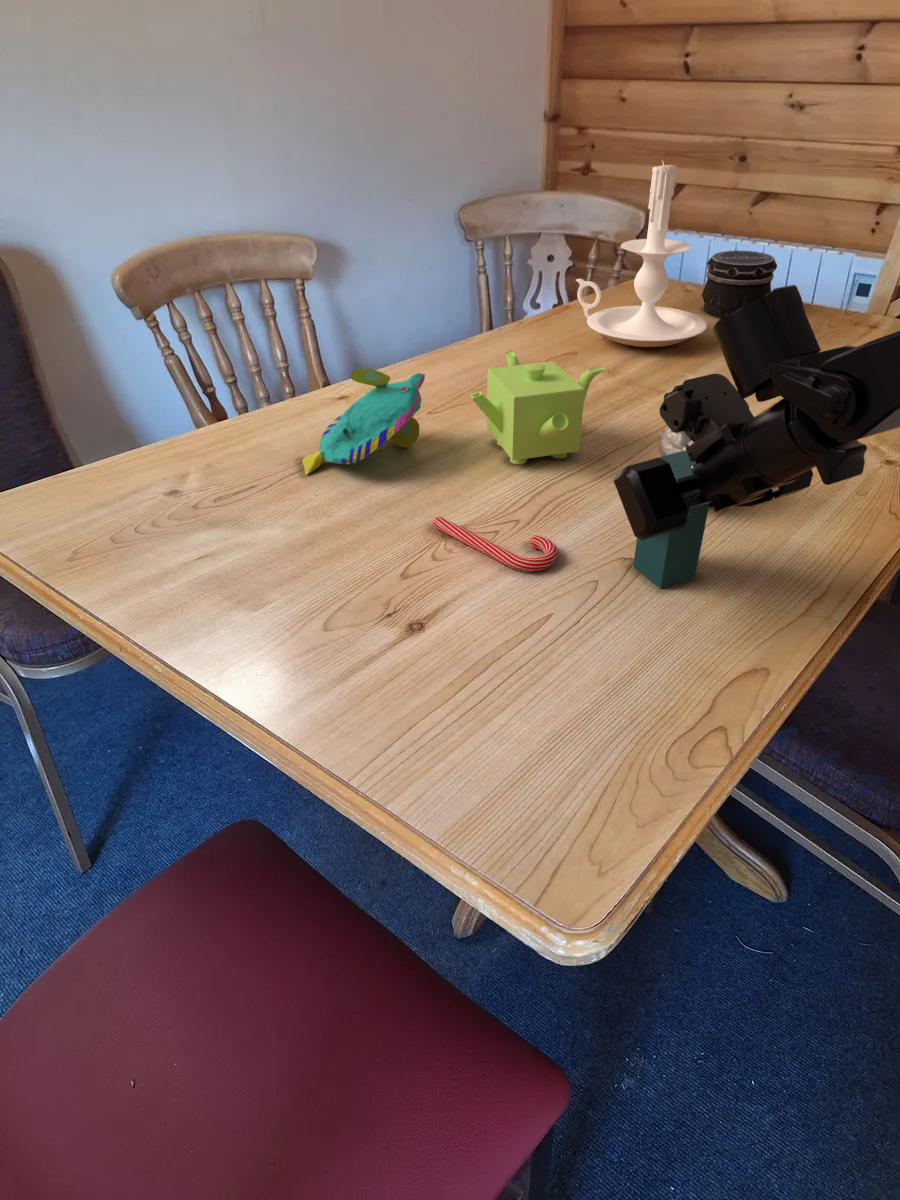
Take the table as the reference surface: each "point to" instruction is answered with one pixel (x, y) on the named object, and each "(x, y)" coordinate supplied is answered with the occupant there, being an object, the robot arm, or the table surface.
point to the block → (674, 538)
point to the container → (736, 280)
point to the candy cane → (499, 552)
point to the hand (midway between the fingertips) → (663, 509)
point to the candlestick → (648, 282)
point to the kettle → (534, 408)
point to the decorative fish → (371, 420)
